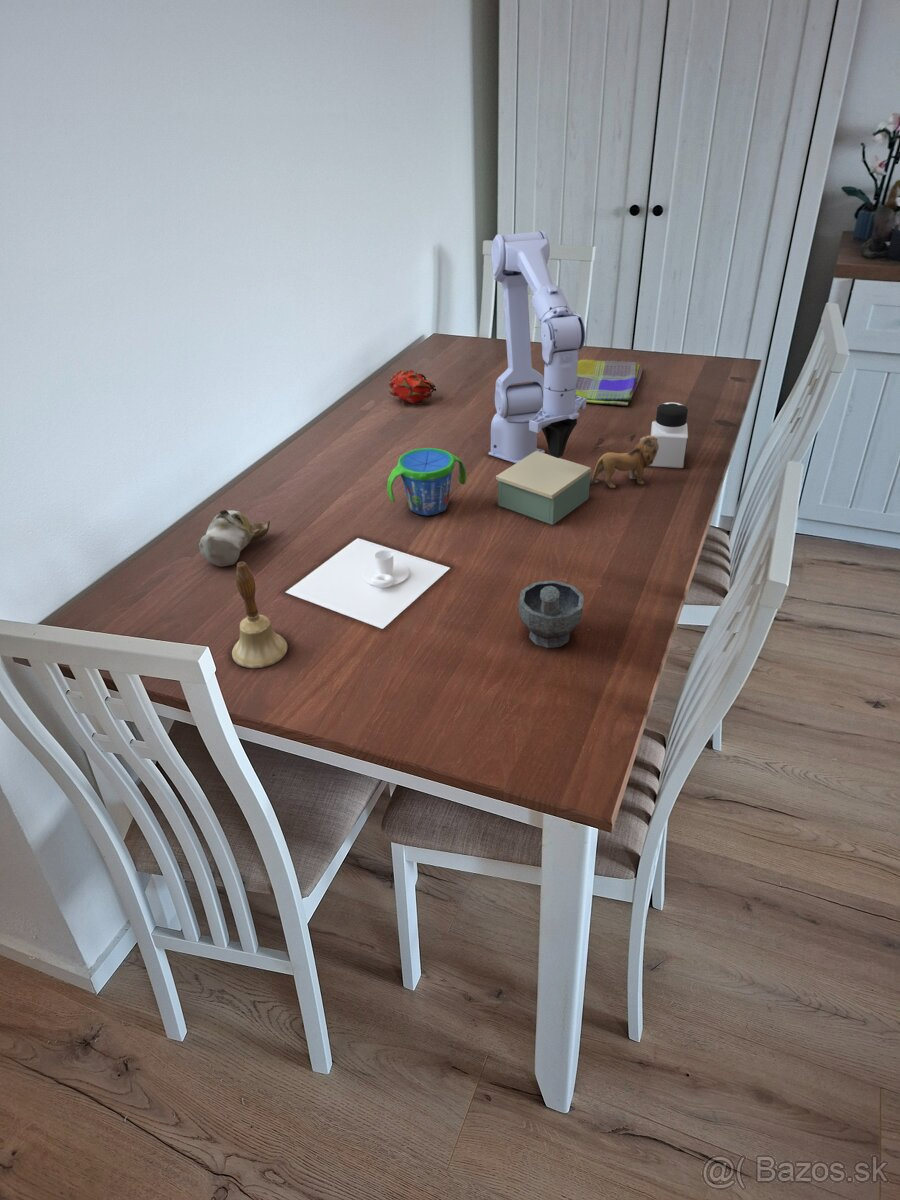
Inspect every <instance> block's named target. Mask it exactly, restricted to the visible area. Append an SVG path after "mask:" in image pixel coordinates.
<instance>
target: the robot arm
mask: <svg viewBox="0 0 900 1200" xmlns="http://www.w3.org/2000/svg"><path fill="white" fill-rule="evenodd" d="M490 252H491V265H492V274H493V279H494V281H496V282H498V283H501V288H502V294H503V295H502V296H503V309H504V325H505V341H506V342H505V343H506V354H507V356H506V357H507V368H506V370H504V372H502V373H501V374H500V375H499V376H498V378H496V380H495V384H494V385H495V392H494V405H495V406H494V407H495V410H496V413H495V414H494V415H493V417H492V420H491V424H490V451H488V456H492V457H494V458H498V459H500V460H504V461H507V462H510V463H513V464H516V463H517V462H519V461H521V460H522V459H524V458H525V457H527V456H528V455H530V454H532V453H533V452H535V451H538V452H542V453H545V452H546V451H545V450H544V449H541V448H538V434H539V433H541V432H542V433H543V435H544V438H545V440H546V445H547V447H548V453H549V455H550V456H553V457H556V458H561V457H563V456H564V453H565V450H566V447H567V444H568V441H569V438H570V436H571V434H572V432H573V430H574V428H575V427H576V425H577V424H578V419H577V418H579V417H580V413H579V412H578V411H579V410H581V411H582V410H585V409H587V408H586V407H587V403H586V398H583V397H580V396H577V397H575V395H576V380H577V364H578V361H579V350H582V349H583V348H584V346H585V342H586V328H585V327H586V326H585V322H584V320H583V317H582V315H581V314H579V313H577V312H576V311H572V310H571V308H570V306H569V303H568V301H567V298H566V297H565V294H564V292H563V289H562V288H561V287H560V286H558V285H556V284H554V283H553V280H552V276H551V274H550V270H549V268H548V263H549V260H550V253H551V245H550V240H549V237H548V235H547V233H546V232H545V231H544V230H539V231H531V232H520V233H510V234H501V233H500V234H499V233H498V234H496V235H495V236H494V237H493V241H492V245H491V251H490ZM528 287H529V288H530V290H531V291H532V293H533V295H532V297H531V306H532V309H533V311H534V314H535V316H536V318H537V321H538V323H539V325H540V343H541V356H542V360H543V361H544V371H543V374H542V373H541V372H539V371H538V370H537V369H534V367H533V362H532V349H531V348H532V346H531V343H532V342H531V327H530V307H529V288H528ZM545 454H546V453H545Z"/></svg>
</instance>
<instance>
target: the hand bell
mask: <svg viewBox="0 0 900 1200" xmlns="http://www.w3.org/2000/svg"><path fill="white" fill-rule="evenodd" d="M235 584H236V588H237V590H238V594H239V595H240V597H241V598H242V600H243V602H244V603H243V604H244V607H245V615H246V617H244V618H242V620H241V621H240V623H239V638H238V641H236V642H235V644H234V646H233V648H232V650H231V658H232V660H233V662H235V663H236V664H237V665H238V666H240V667H243V668H246V669H262V668H263V669H264V668H267V667H270V666H272V665H274V664H276V663H278V662H279V661H281V660H282V659H283V658H284V657H285V655H286V654H287V652H288V649H289V648H288V642H287V640H286V639H284V637H283V636H281V635H280V634H278V633H276V632H275V631H274V629H273V626H272V624H271V621H270V619H269V618H268V617H267V616H265V615H264V614H260V612H259V610H258V607H257V603H256V581H255V577H254V575H253V572H252V571H251V569H250V568H249V566H248V564H247V563H246V562H245V561H239V562H237V563H236V571H235Z"/></svg>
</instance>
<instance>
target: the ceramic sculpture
mask: <svg viewBox="0 0 900 1200" xmlns="http://www.w3.org/2000/svg"><path fill="white" fill-rule="evenodd" d="M270 525H271V520H270V521H269V520H268V521H266V522H262V523H260V522H259V523H258V522H256V523H253V524H251V523H250V521H249V519H248V516H246V515H245V514H244V513H242V512H241V511H239V510H229V509H228V510H226V509H223V510H220V511H219V513H217V514H216V515H215V516H214V517H213V518H212V521H211V522H210V524H209V525H208V526H207V530H206V531H205V534H204V535H203V536H202V537H201V538H200V540H199V543H198V545H197V546H198V549H199V552H200V554H201V556H202V558H203V559H205V561H206V562H208V563H209V564H212V565H215V566H217V567H221V568H222V567H223V568H224V567H229V566H233V565H235V564H237V561H238V560H239V558H240V556H241V555H240V554H241V551H242V550H244V549H245V548H246V547H247V546H248V545H249V544H252V543H255V542H257V541H260V540H262V539H263V538H264V537H265V536H266V535H267V533H268V531H269V529H270Z"/></svg>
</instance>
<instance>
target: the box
mask: <svg viewBox="0 0 900 1200" xmlns="http://www.w3.org/2000/svg"><path fill="white" fill-rule="evenodd" d="M591 473H592V472H589V473H588V474H586V475H585V476H583V477H582V478H581V479H579V480H578V481H576V482H575V483H574V484H572V485H571V486H569V487H568V488H567V489H565V490H564V491H562V492H561V493H559V494H558V495H557V496H555V497H554V498H552V499H551V498H548V497H545V496H542V495H539V494H536V493H533V492H530V491H527V490H524V489H521V488H518V487H515V486H512V485H510V484H507V483H504V482H501V481H498V480H497V506H499V507H501V508H504V509H506V510H510V511H513V512H516V513H519V514H520V515H524V516H526V517H529V518H532V519H535V520H537V521H541V522H543V523H546V524H548V525H552V526H553V525H555V524H556V523H557V522H559V521H561V520H562V519H563V518H564V517H565V516H567V515H568V514H570V513H572V512H573V511H574V510H575V509H577V508H578V507H579V506H581V505H582V504H584V502H586V501H587V500H588V499H589V498H590V487H591V486H590V482H591Z"/></svg>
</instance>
